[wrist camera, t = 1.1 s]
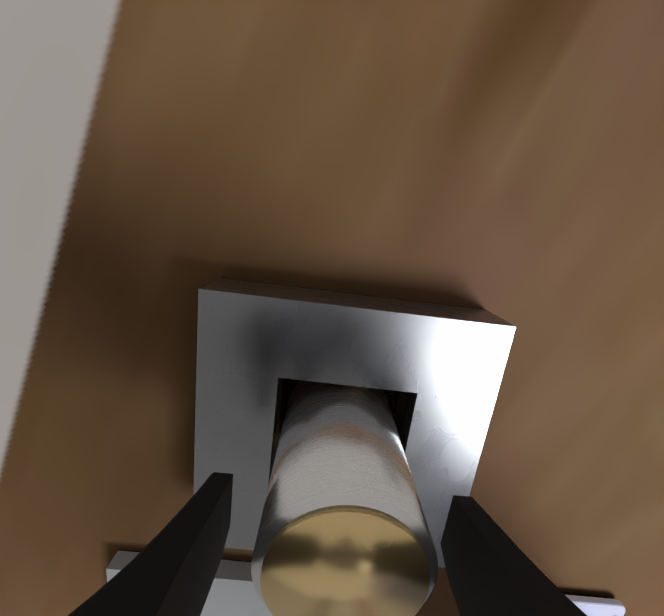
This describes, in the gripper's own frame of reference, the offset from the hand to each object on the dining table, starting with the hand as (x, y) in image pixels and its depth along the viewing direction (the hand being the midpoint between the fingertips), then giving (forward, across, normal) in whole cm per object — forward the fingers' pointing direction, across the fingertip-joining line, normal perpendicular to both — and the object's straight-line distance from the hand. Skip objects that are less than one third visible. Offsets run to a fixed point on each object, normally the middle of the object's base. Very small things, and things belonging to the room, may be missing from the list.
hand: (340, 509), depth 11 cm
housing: (+6, 0, 0) cm, 6 cm away
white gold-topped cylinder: (+6, 0, 0) cm, 6 cm away
